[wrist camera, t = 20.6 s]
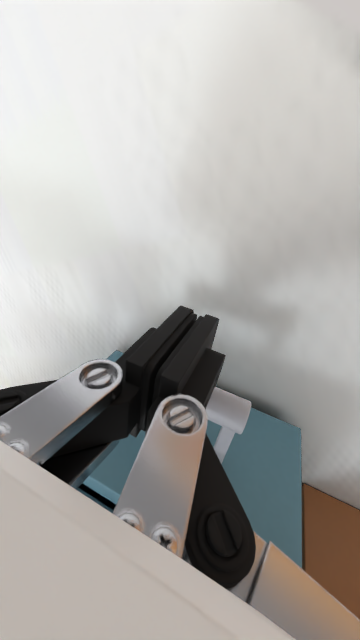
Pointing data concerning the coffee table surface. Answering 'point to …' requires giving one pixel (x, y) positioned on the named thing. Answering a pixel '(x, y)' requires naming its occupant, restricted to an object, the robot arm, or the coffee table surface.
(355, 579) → the brown rectangular box
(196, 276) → the coffee table surface
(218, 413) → the drawer
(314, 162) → the coffee table surface
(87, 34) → the coffee table surface
